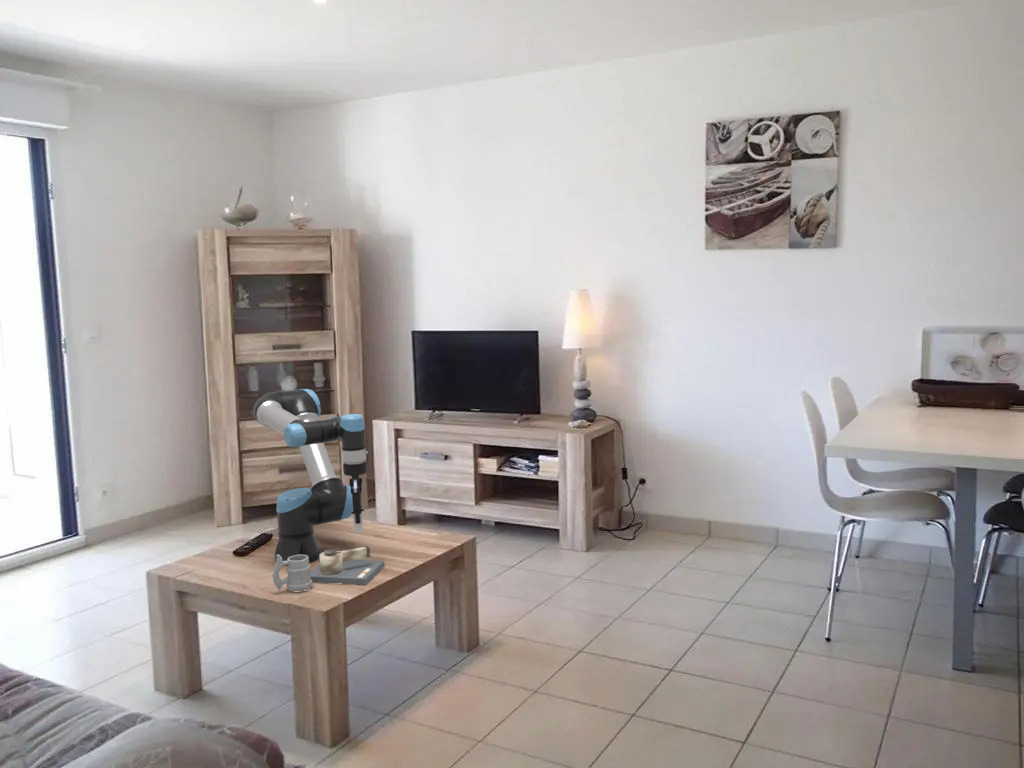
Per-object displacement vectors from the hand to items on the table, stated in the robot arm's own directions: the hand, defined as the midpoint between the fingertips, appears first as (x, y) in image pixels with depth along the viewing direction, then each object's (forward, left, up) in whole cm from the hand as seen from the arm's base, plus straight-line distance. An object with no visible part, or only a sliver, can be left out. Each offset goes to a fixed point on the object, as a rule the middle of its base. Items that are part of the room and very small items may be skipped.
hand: (358, 532), depth 279 cm
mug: (-13, -23, -12) cm, 29 cm away
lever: (-1, -9, -9) cm, 13 cm away
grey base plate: (-2, -8, -12) cm, 14 cm away
